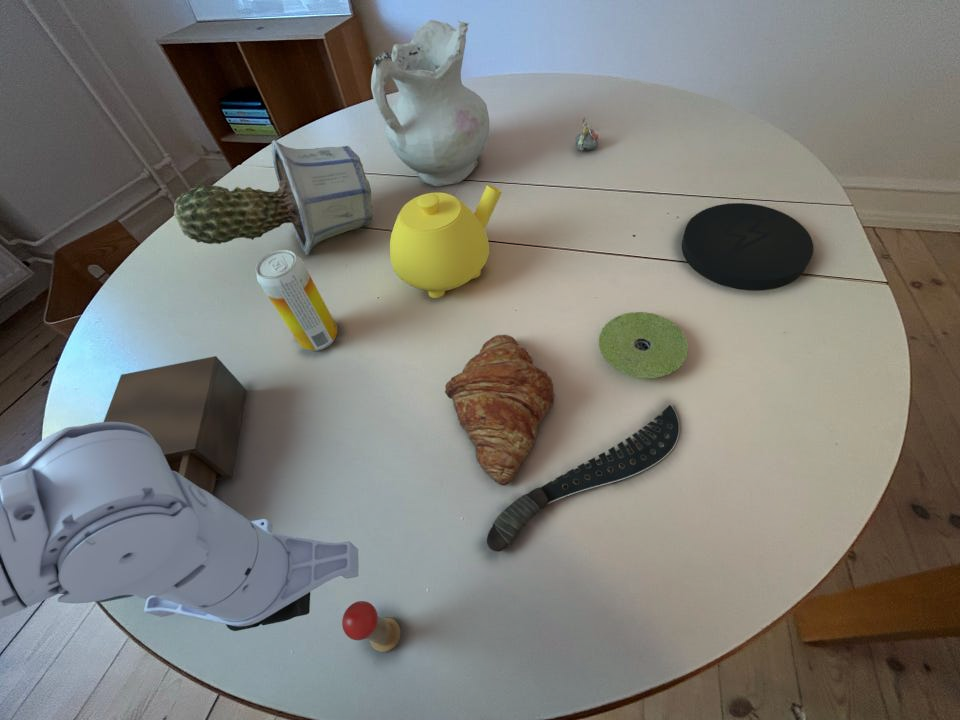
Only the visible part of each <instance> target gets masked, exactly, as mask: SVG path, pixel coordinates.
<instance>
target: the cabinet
mask: <svg viewBox="0 0 960 720" xmlns="http://www.w3.org/2000/svg"><path fill="white" fill-rule="evenodd" d="M247 392H248V390H247V389H246V388H245V386H244V384H242V383H241V382H240V381H239V380H238V379H237V377H236V376H235V375H234V374H233V373H232V372H231V370H229V369H228V367H226V365H225V364H224V363H223V362H222V361H221V360H220V359H219V357H218V356H217V355H215V356H214V355H213V356H208V357H204V358H198V359H193V360H189V361H183V362H179V363H174V364H168V365H163V366H158V367H153V368H148V369H142V370H139V371H138V370H137V371H132V372H128V373H123V374H120V376H119V379H118V381H117V384H116V387H115V390H114V393H113V395H112V398H111V401H110V402H109V403H110V404H109V406H108V409H107V411H106V414H105V417H104V420H103V422H123V423H129V424H133V425H136V426H139V427H141V428H143V429H145V430H146V431H148V432H149V433H150V434H151V435H152V436H153V438H154V439H155V441H156V442H157V443H158V445H159V446H160V448H161V450H162V452H163V454H164V456H165V458H168V457H174V456H179V455H184V454H189V453H193V454H194V455H196V456H197V457H198V458H199V459H201V460H202V461H203V462H205V463H206V464H207V465H209V466H210V467H211V468H212V469H214V470H215V471H216V472H217V476H216V481H215V482H217V481H222V480H226V479H227V480H228V479H231V478H232V477H233V472H234V468H235V461H236V456H237V450H238V444H239V438H240V431H241V425H242V420H243V414H244V413H243V412H244V410H245V409H244V408H245V403H246V396H247Z"/></svg>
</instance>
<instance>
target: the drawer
mask: <svg viewBox="0 0 960 720" xmlns="http://www.w3.org/2000/svg"><path fill="white" fill-rule="evenodd" d="M166 460H167V462H168V464H169V467H170V469H171V471H175V472H177V473H179V474H180V475H182V476H183V477H185V478H186V479H188V480H189V481H190V482H192V483H193V484H195V485H196V486H198V487H199V488H201V489H203V490H205V491H207V492H209V493H210V494H212V495H213V496H214V490H215V485H216V482H217V481H216V476H217V472H216V471H215V470H214V469H212V468H211V467H210V466H209V465H207V464H206V463H205V462H203V461H202V460H201V459H199V458H198V457H197V456H196V455H194V454H193V453H189V454H184V455H179V456H174V457H168V458H166ZM131 597H135V596H134V595H121V596H116V597H112V598H109V599H105V600H101V601H96V602H97V603H99V604H100V603H101V604H102V603H106V602H111V601H116V600H121V599H126V598H131Z"/></svg>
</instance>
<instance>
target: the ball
mask: <svg viewBox="0 0 960 720" xmlns="http://www.w3.org/2000/svg"><path fill="white" fill-rule="evenodd" d="M378 616H379V615H378V611H377V609H376V607H375V606H374V605H373V604H372V603H371V602H368V601H365V600H359V601H356V602H353V603H351V605H349V606H348V607H347V608H346V609H345V611H344V613H343V616H342V619H341V625H342V626H341V627H342V630H343V632H344V634H345V635H346V636H347V637H348V638H349V639H350V640H353V641H363V640H365V639H366V638H368V637H369V636H370V635H371V634H372V633H373V632H374V630H375V629H376V626H377V623H378ZM366 640H367V639H366Z"/></svg>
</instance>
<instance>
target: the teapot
mask: <svg viewBox="0 0 960 720" xmlns="http://www.w3.org/2000/svg"><path fill="white" fill-rule="evenodd" d="M502 193H503V191H502V190H501V189H499V188H498V187H496V186H494V185H490V184H487V185H486V186H485V189H484V191H483V193H482V195H481V198H480V200H479V202H478V205H477V206H476V208H475V211H474V212H473V211H472V210H471V209H470V207H468V206H467V205H466V204H465V203H464V202H463V201H462V200H460V199H459V198H457V197H456V196H454V195H452V194H450V193H446V192H428V193H424V194H421V195H418V196H416V197H414V198H412V199H410V200H409V201H408V202H406V203H405V204H404V205H403V206H402V208H401V209H400V211H399V213H398V215H397V217H396V220H395V222H394V225H393V228H392V230H391V234H390V239H389V258H390V262H391V266H392V269H393V271H394V273H395V274H396V276H398V278H399V279H400V280H401V281H402V282H404V283H405V284H407V285H409V286H411V287H414V288H416V289H420V290H422V291H427V294H428V296H429V297H430V298H432V299H438V298H442V297H443V296H444V295H445V293H446V291H450V290H453V289H456V288H459V287H461V286H463V285H465V284H467V283H468V282H469V281H471V280H473V279H477V278H478V277H480V276H481V272H482V269H483V268H484V267H485V265H486V262H487V261H488V259H489V255H490V244H489V238H488V236H487V233H486V228H487V226H488V223H489V221H490V219H491V217H492V215H493V213H494V210H495V208H496V206H497V203H498V202H499V199H500V198H501V195H502Z"/></svg>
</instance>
